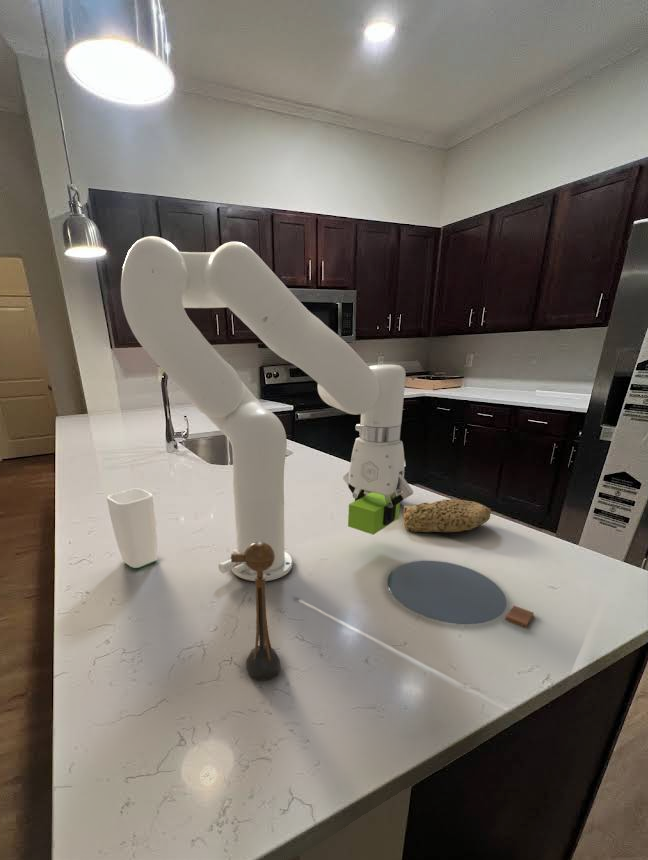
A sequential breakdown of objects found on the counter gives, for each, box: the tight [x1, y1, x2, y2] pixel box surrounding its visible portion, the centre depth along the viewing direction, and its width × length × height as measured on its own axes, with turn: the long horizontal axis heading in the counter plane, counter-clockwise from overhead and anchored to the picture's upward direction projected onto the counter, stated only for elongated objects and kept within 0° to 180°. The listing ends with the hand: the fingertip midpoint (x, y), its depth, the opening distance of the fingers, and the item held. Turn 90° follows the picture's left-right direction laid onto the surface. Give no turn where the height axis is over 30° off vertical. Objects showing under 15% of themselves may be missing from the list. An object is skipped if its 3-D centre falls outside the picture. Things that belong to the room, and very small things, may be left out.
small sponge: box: [347, 492, 401, 535], centre depth 86 cm, size 10×6×5 cm, turn 136°
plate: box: [386, 560, 507, 625], centre depth 76 cm, size 20×20×1 cm
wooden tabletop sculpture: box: [230, 542, 281, 681], centre depth 55 cm, size 6×5×20 cm
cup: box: [106, 487, 158, 569], centre depth 85 cm, size 7×7×15 cm
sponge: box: [402, 498, 492, 533], centre depth 99 cm, size 13×8×20 cm
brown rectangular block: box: [504, 605, 535, 628], centre depth 68 cm, size 4×3×1 cm
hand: (373, 518), depth 87 cm, fingers closed on small sponge, 6 cm apart
